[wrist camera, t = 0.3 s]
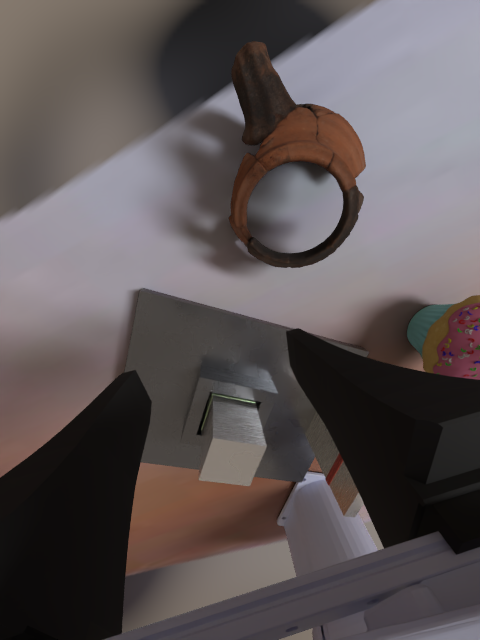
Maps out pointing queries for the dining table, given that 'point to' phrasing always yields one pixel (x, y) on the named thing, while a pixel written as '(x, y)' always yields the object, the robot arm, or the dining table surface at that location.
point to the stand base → (229, 389)
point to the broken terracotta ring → (290, 151)
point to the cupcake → (448, 338)
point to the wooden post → (230, 440)
